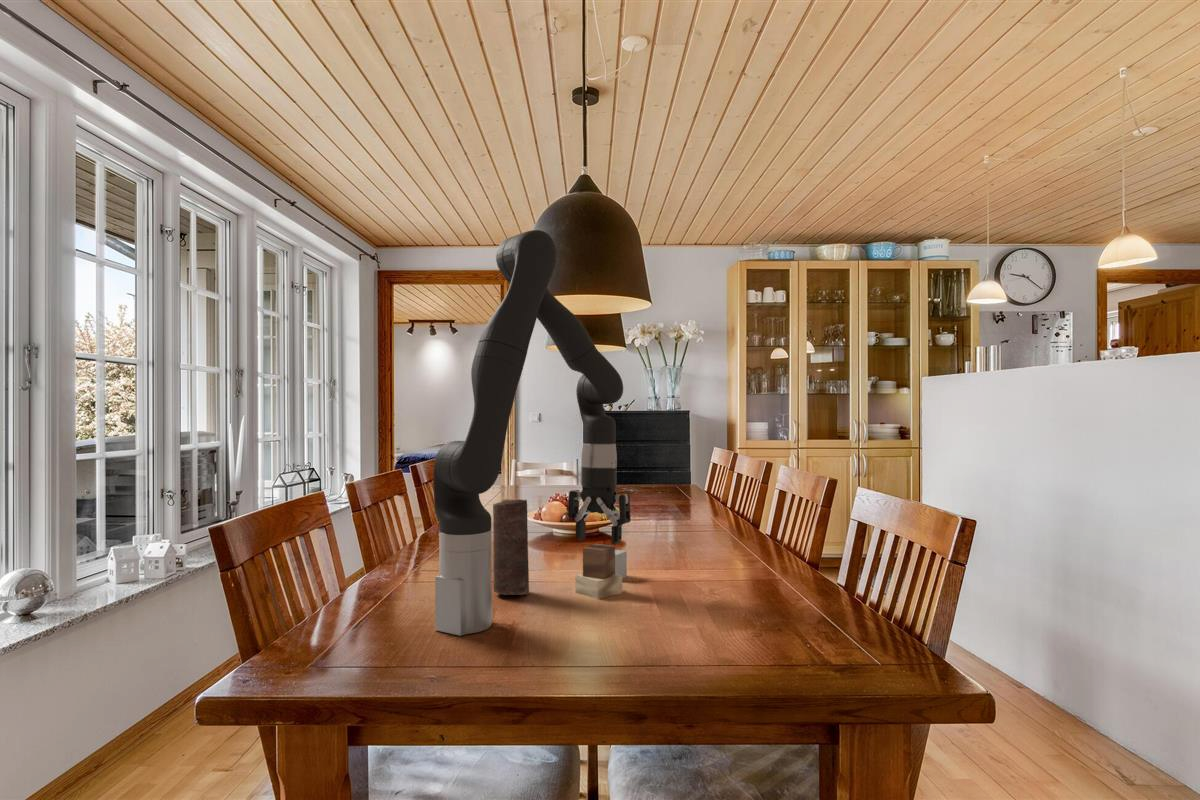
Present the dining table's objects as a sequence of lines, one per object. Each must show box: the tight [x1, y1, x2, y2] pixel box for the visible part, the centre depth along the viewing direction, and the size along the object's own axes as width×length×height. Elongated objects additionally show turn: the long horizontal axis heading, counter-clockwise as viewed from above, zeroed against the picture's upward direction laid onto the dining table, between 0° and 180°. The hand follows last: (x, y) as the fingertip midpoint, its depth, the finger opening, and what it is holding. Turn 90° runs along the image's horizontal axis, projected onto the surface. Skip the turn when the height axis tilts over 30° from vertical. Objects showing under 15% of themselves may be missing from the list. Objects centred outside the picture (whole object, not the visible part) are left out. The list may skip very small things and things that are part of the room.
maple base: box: [575, 572, 623, 600], centre depth 141 cm, size 7×7×4 cm
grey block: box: [615, 549, 628, 580], centre depth 153 cm, size 5×5×6 cm
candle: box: [492, 499, 530, 596], centre depth 139 cm, size 8×7×20 cm
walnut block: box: [582, 543, 616, 579], centre depth 141 cm, size 5×5×6 cm
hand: (598, 541), depth 141 cm, fingers open, 8 cm apart
